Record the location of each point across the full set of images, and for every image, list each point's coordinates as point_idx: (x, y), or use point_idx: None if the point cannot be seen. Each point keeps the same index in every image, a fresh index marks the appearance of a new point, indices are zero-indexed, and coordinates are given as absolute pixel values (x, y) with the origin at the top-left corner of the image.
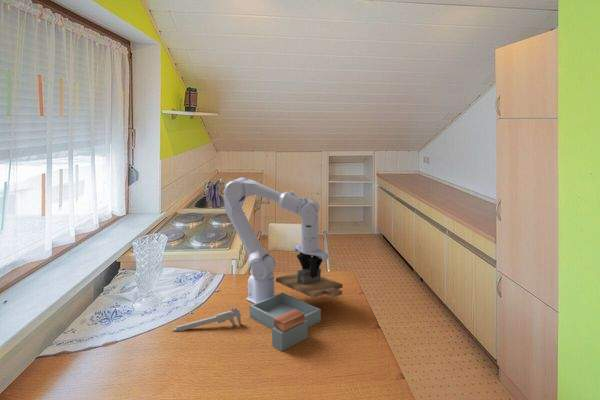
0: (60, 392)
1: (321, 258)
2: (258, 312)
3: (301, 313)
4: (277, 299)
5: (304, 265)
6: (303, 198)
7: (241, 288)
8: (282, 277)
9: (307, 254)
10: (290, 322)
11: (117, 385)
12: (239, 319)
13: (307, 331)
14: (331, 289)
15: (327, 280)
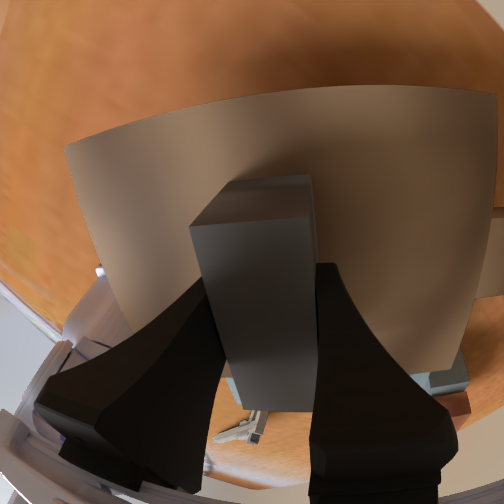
0: (281, 486)
1: (472, 495)
2: None
3: (463, 417)
4: None
5: (210, 384)
6: None
7: (54, 288)
8: None
9: (156, 470)
10: None
11: (307, 477)
12: (267, 411)
13: (461, 354)
14: (501, 256)
15: (359, 124)
